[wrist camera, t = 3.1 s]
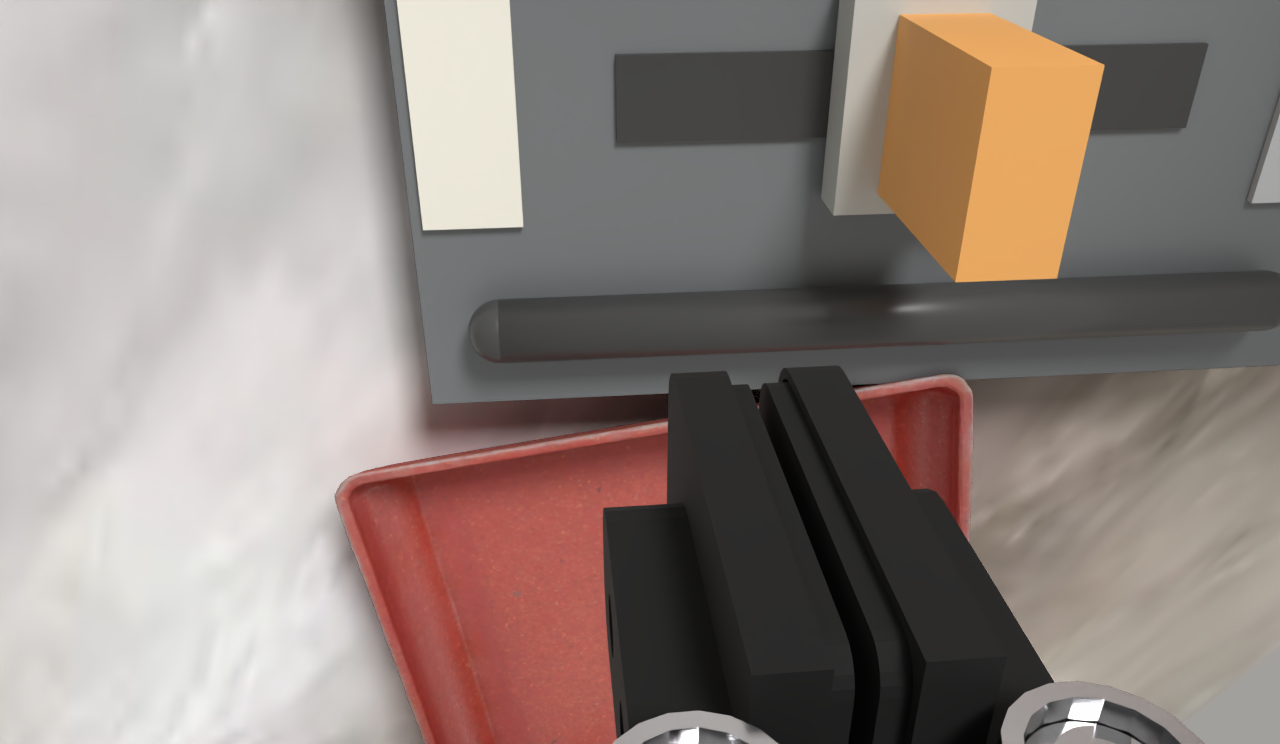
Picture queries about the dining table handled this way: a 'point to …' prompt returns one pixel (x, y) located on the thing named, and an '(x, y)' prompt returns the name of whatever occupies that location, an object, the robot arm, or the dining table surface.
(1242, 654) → the dining table surface
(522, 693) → the plant saucer
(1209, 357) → the switch panel
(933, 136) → the breaker lever
